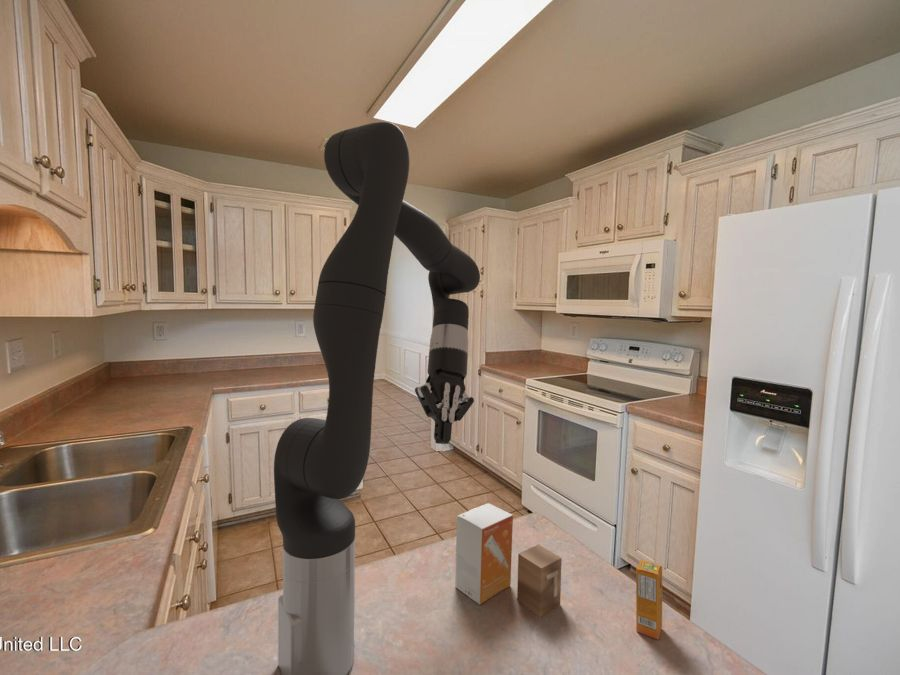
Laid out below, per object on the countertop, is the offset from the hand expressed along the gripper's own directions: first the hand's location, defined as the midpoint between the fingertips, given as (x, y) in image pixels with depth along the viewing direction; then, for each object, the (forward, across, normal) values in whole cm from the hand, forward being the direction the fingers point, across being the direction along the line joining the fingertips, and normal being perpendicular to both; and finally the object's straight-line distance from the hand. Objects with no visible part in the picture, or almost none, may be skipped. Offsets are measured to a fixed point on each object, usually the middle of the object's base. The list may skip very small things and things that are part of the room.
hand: (442, 443), depth 74 cm
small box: (+24, +12, 0) cm, 26 cm away
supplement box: (+26, +25, -22) cm, 43 cm away
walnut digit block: (+24, +16, -8) cm, 31 cm away
